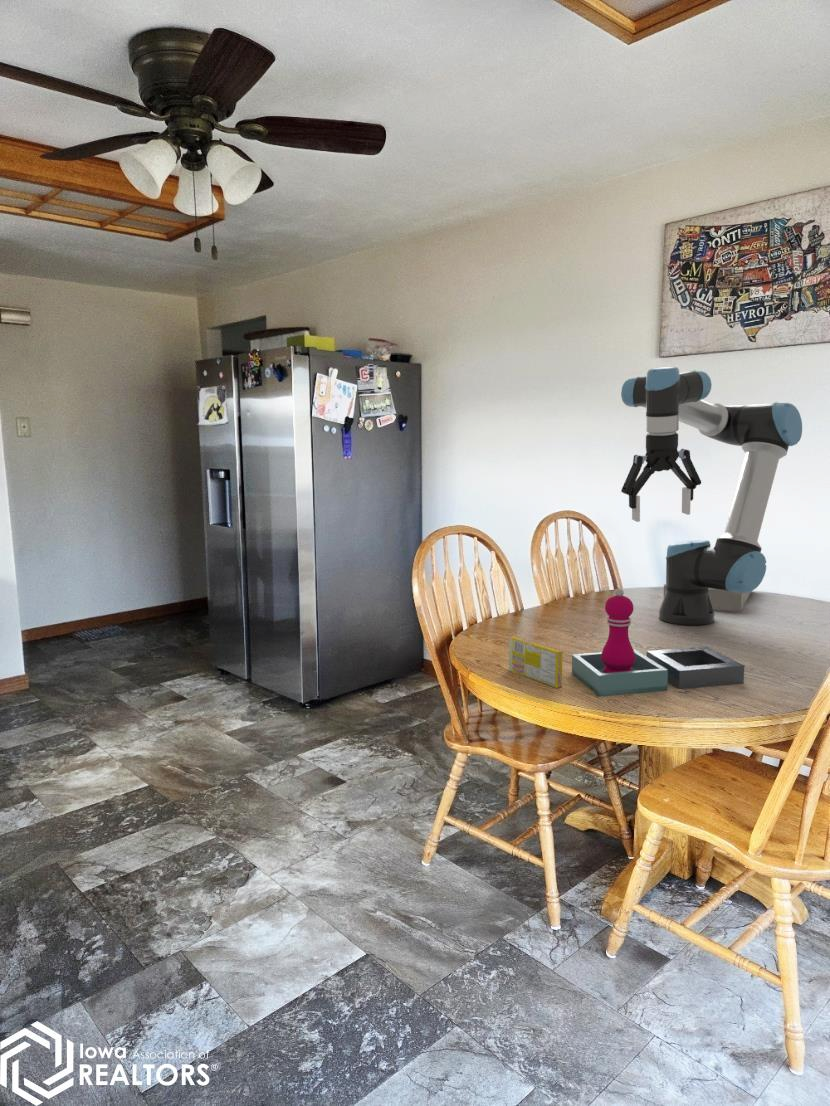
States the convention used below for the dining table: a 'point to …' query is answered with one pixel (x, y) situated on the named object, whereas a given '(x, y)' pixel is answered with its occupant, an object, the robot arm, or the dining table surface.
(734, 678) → the bore block
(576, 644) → the dining table surface
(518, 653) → the candy box
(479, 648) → the dining table surface
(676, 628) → the dining table surface
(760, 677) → the dining table surface
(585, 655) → the tray
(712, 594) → the box
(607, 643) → the pepper mill
